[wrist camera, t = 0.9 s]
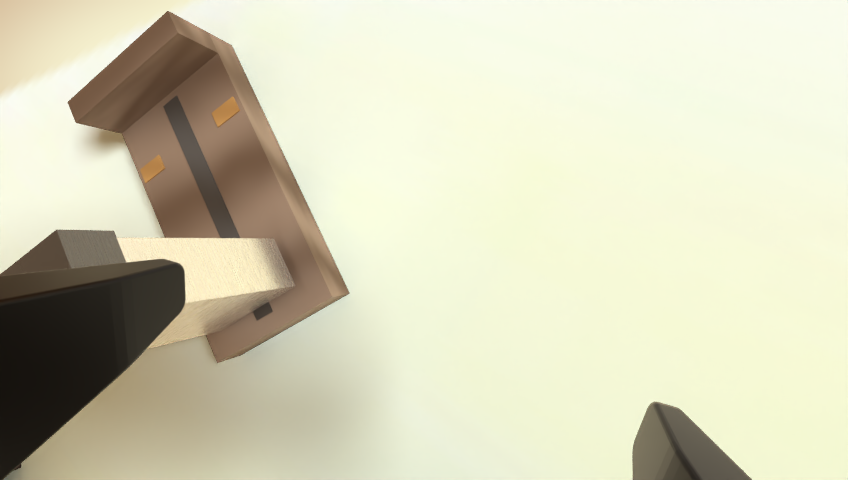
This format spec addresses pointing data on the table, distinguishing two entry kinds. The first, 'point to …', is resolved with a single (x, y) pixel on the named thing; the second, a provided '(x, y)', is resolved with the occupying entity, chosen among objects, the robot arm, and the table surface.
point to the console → (212, 164)
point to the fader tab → (203, 264)
